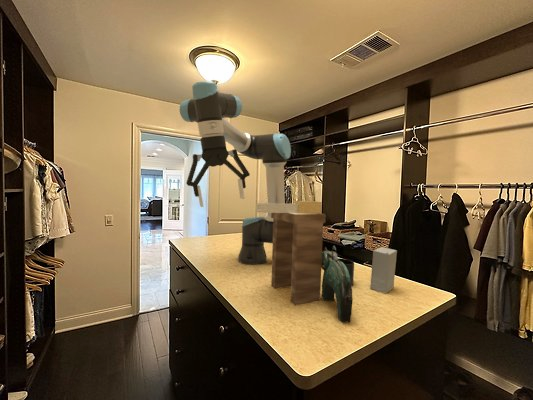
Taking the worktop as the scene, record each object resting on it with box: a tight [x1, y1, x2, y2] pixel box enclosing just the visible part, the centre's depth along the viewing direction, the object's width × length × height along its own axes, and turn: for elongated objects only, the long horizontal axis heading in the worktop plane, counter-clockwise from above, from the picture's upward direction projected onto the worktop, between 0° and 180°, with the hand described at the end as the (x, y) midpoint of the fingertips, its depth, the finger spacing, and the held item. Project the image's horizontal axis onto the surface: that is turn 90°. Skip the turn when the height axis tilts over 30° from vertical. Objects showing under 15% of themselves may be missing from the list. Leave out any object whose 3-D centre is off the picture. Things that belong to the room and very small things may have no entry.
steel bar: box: [255, 200, 323, 214], centre depth 87 cm, size 5×22×4 cm, turn 101°
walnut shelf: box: [270, 213, 327, 306], centre depth 93 cm, size 18×12×30 cm, turn 25°
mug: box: [338, 257, 355, 286], centre depth 105 cm, size 9×12×9 cm
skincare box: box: [370, 246, 398, 294], centre depth 100 cm, size 8×7×16 cm
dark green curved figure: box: [321, 245, 354, 323], centre depth 82 cm, size 20×6×20 cm, turn 4°
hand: (222, 202), depth 83 cm, fingers open, 13 cm apart
